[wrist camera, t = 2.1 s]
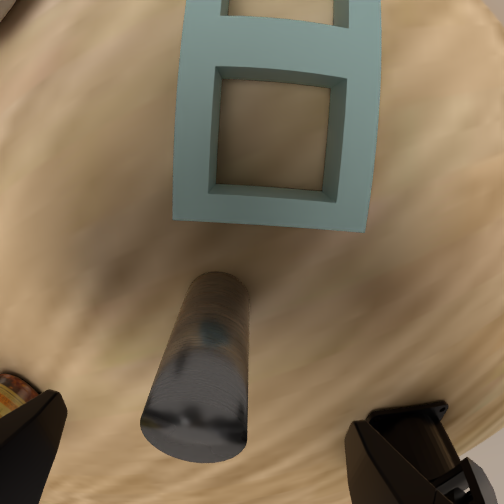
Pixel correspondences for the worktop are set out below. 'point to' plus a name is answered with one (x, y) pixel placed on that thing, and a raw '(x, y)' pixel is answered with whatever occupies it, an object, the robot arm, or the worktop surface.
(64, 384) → the worktop surface
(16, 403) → the sauce bottle
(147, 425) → the peg
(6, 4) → the pump dispenser
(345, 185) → the pegboard
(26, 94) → the worktop surface
